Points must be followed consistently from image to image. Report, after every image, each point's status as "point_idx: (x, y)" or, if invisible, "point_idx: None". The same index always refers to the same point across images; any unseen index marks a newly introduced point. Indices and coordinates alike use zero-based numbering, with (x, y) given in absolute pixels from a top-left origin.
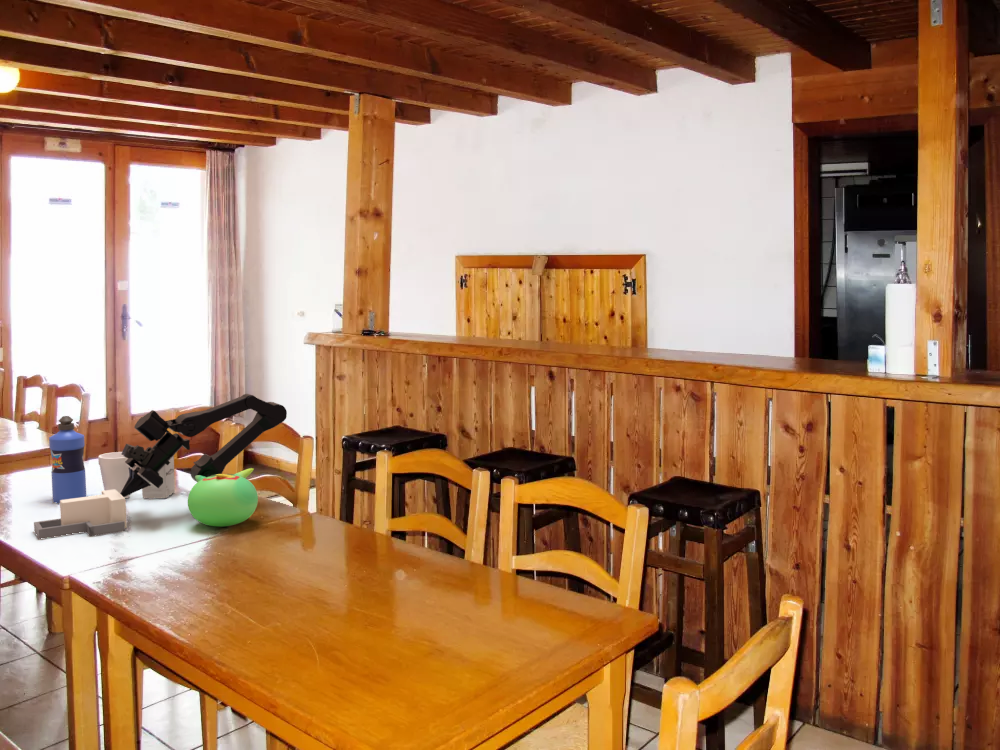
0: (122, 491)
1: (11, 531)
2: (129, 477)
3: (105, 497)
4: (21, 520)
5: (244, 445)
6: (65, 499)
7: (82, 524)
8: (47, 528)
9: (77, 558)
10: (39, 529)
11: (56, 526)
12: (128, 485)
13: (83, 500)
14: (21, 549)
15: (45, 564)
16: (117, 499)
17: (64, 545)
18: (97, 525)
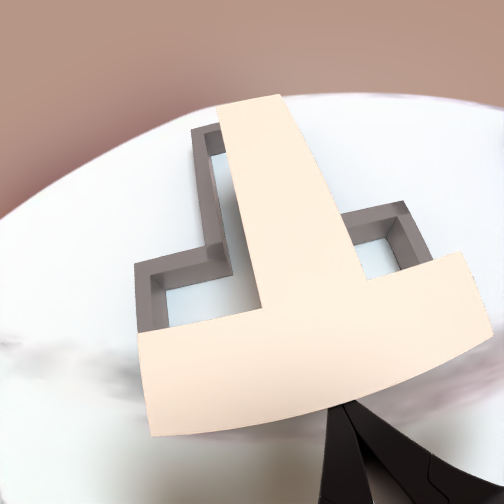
0: (343, 423)
1: (307, 98)
2: (468, 498)
3: (258, 291)
4: (405, 109)
5: None
6: (285, 106)
7: (204, 236)
8: (192, 144)
9: (8, 258)
10: (192, 130)
11: (203, 161)
12: (320, 496)
13: (231, 171)
14: (133, 139)
15: (19, 206)
16: (148, 378)
17: (103, 217)
18: (141, 293)
